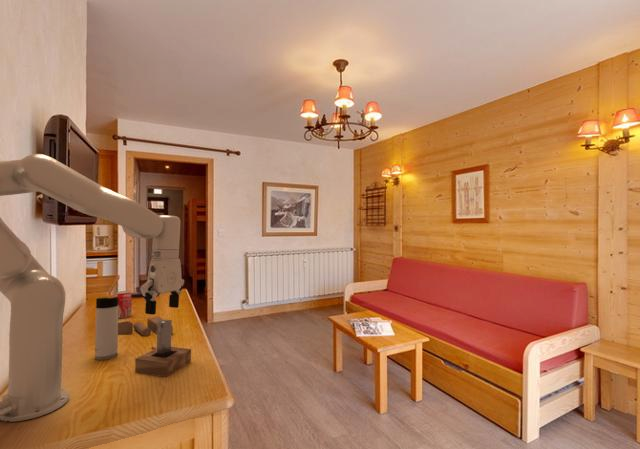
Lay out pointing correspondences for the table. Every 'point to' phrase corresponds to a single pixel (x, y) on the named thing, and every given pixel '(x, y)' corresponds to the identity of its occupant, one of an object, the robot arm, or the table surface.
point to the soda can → (124, 304)
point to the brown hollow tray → (162, 362)
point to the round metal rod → (164, 338)
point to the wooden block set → (140, 326)
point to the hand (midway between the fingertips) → (162, 310)
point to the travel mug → (106, 328)
